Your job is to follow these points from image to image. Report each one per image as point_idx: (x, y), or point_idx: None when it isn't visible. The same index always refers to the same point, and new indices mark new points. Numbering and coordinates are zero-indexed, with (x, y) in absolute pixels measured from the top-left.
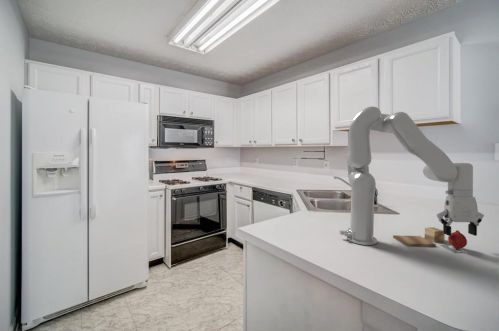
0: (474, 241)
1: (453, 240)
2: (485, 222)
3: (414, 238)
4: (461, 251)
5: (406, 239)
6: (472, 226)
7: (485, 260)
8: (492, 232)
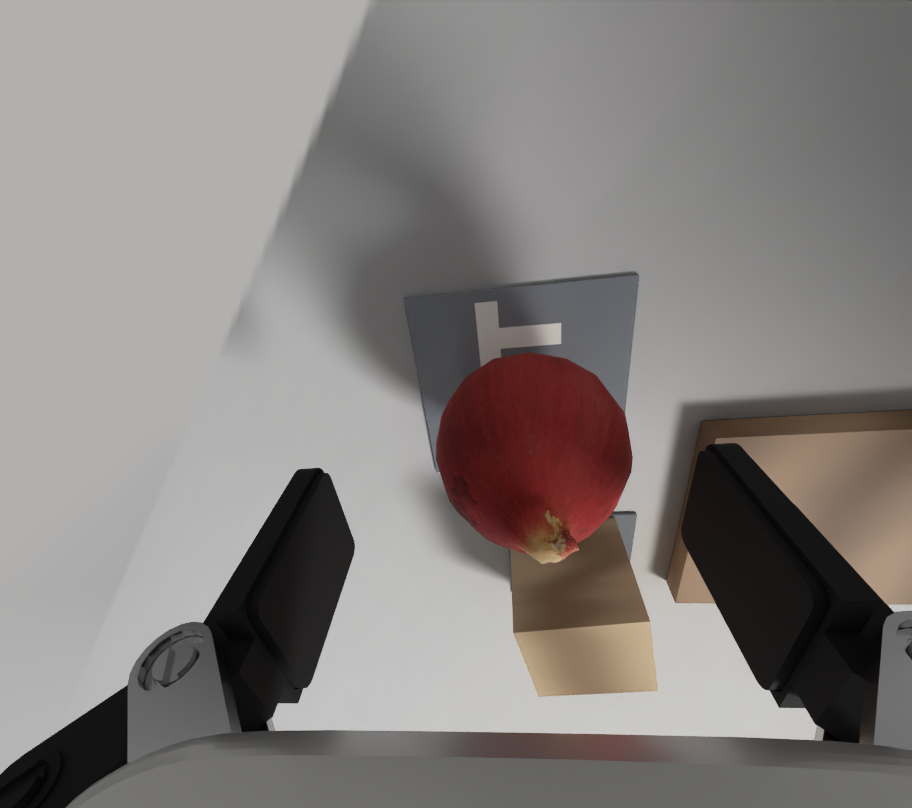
0: None
1: (619, 412)
2: None
3: None
4: (523, 333)
5: None
6: (283, 622)
7: (424, 97)
8: (94, 668)
